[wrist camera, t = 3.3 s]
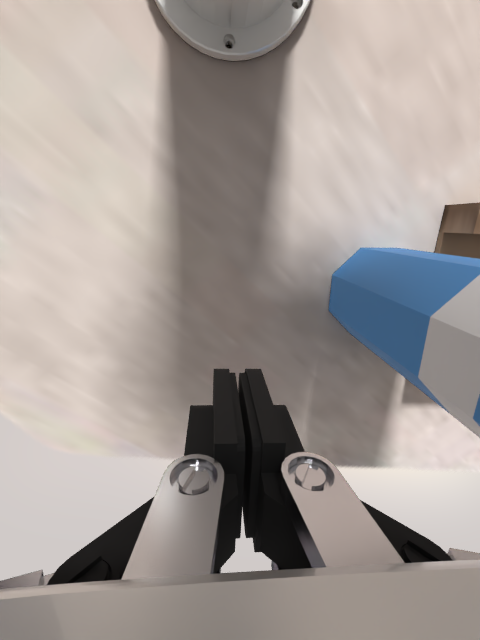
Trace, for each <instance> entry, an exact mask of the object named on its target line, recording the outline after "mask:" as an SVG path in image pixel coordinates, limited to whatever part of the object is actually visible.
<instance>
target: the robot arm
mask: <svg viewBox="0 0 480 640" xmlns="http://www.w3.org/2000/svg"><path fill="white" fill-rule="evenodd" d="M155 2H156V4H157V6H158V8H159V10H160V12H161V14H162V15H163V17H164V18H165V19H166V21H167V22H168V24H169V25H170V26H171V28H172V29H173V30H174V31H175V32H176V33H177V34H178V35H179V36H180V37H181V38H182V39H183V40H184V41H185V42H186V43H188V44H189V45H191V46H192V47H194V48H195V49H197V50H198V51H200V52H201V53H204V54H206V55H209V56H212V57H214V58H217V59H223V60H229V61H239V60H249V59H252V58H255V57H259V56H262V55H264V54H266V53H267V52H269V51H271V50H273V49H274V48H276V47H277V46H278V45H280V44H281V43H282V42H283V41H284V40H285V39H286V38H287V37H288V36H289V35H290V34H291V33H292V31H293V30H294V29H295V27H296V26H297V25H298V24H299V22H300V21H301V19H302V17H303V15H304V13H305V11H306V9H307V7H308V5H309V3H310V0H155ZM293 6H295V7H296V8H297V9H295V8H293ZM228 44H229V45H231V46H232V48H230V49H229V48H226V45H228ZM242 508H243V516H244V526H245V535H246V538H253V543H254V550H255V552H262V553H264V554H265V555H266V556H267V557H269V558H270V559H271V560H272V565H271V566H272V570H271V571H253V572H237V573H220V571H221V567H222V566H223V565H224V563H225V562H226V561H227V560H228V559H229V558H230V556H231V555H232V554H233V553H234V552H235V539H236V538H240V533H241V517H242ZM0 640H480V553H475V552H470V551H464V550H458V549H453V548H450V549H449V552H448V553H446V552H445V551H443V550H442V549H441V548H440V547H439V546H438V545H436V544H435V543H433V542H432V541H430V540H429V539H427V538H425V537H424V536H422V535H420V534H418V533H417V532H415V531H413V530H411V529H410V528H408V527H406V526H404V525H403V524H401V523H399V522H398V521H396V520H394V519H392V518H390V517H389V516H387V515H385V514H384V513H382V512H380V511H378V510H376V509H375V508H373V507H371V506H370V505H368V504H366V503H364V502H363V501H361V500H359V498H358V497H357V495H356V494H355V493H354V491H353V490H352V489H351V487H350V486H349V484H348V483H347V481H346V480H345V479H344V477H343V476H342V474H341V473H340V472H339V470H338V469H337V468H336V467H335V465H334V464H333V463H332V462H330V461H329V460H327V459H326V458H324V457H322V456H320V455H318V454H315V453H310V452H305V451H304V449H303V446H302V444H301V442H300V439H299V437H298V434H297V432H296V429H295V427H294V425H293V422H292V420H291V417H290V415H289V412H288V410H287V408H286V406H285V405H273V403H272V400H271V397H270V394H269V391H268V389H267V386H266V383H265V380H264V377H263V374H262V371H261V369H245V373H239V387H238V389H237V382H236V376H235V373H230V372H229V369H214V382H213V405H202V406H190V414H189V422H188V429H187V437H186V445H185V453H184V456H182V457H180V458H178V459H176V460H174V461H173V462H172V463H171V464H170V465H169V466H168V467H167V469H166V470H165V472H164V474H163V477H162V479H161V481H160V484H159V487H158V489H157V491H156V494H155V496H154V497H153V498H152V499H150V500H149V501H148V502H146V503H145V504H143V505H142V506H141V507H139V508H138V509H136V510H135V511H134V512H132V513H131V514H130V515H128V516H127V517H125V518H124V519H123V520H121V521H120V522H118V523H117V524H116V525H114V526H113V527H112V528H110V529H109V530H107V531H106V532H105V533H103V534H102V535H101V536H99V537H98V538H96V539H95V540H94V541H92V542H91V543H89V544H88V545H87V546H85V547H84V548H83V549H81V550H80V551H79V552H77V553H76V554H74V555H73V556H71V557H70V558H69V559H68V560H67V561H66V562H64V563H63V564H62V565H61V566H60V567H59V568H58V569H57V571H56V572H55V573H52V574H48V575H45V576H43V570H39V571H36V572H32V573H28V574H24V575H21V576H17V577H13V578H10V579H6V580H2V581H0Z"/></svg>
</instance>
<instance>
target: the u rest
mask: <svg viewBox="0 0 480 640" xmlns="http://www.w3.org/2000/svg"><path fill="white" fill-rule="evenodd" d="M434 253H439V254H447V255H454V256H462V257H470V258H477V259H480V203H469V204H457V205H445V209H444V213H443V218H442V222H441V226H440V231H439V235H438V239H437V244H436V248H435V252H434Z"/></svg>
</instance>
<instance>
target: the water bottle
mask: <svg viewBox="0 0 480 640" xmlns="http://www.w3.org/2000/svg"><path fill="white" fill-rule="evenodd" d="M329 311H330V312H331V313H332V315H333V316H334V317H335V318H336V319H337V320H338V321H339V322H340V323H341V324H342V325H343V326H344V328H345V329H346V330H347V331H348V332H349V333H350V334H351V335H352V336H354V337H355V338H356V339H357V340H359V341H360V342H361V343H362V344H364V345H365V346H366V347H367V348H369V349H370V350H371V351H372V352H374V353H375V354H376V355H377V356H379V357H380V358H381V359H382V360H384V361H385V362H386V363H387V364H389V365H390V366H391V367H392V368H394V369H395V370H396V371H397V372H399V373H400V374H401V375H402V376H404V377H405V378H406V379H407V380H409V381H410V382H411V383H412V384H414V385H415V386H416V387H417V388H419V389H420V390H421V391H422V392H424V393H425V394H426V395H427V396H428V397H430V398H431V399H432V400H433V401H435V402H436V403H437V404H438V405H440V406H441V407H442V408H443V409H445V410H446V411H447V412H448V413H450V414H451V415H452V416H453V417H455V418H456V419H457V420H458V421H460V422H461V423H462V424H463V425H465V426H466V427H467V428H468V429H470V430H471V431H472V432H473V433H475V434H476V435H477V436H478V437H480V259H477V258H470V257H462V256H454V255H447V254H439V253H432V252H424V251H416V250H409V249H401V248H360V249H359V250H358V251H357V252H356V253H355V254H354V255H353V256H352V257H351V258H349V259H348V260H347V261H346V262H345V263H344V264H343V265H342V266H341V267H340V268H339V269H338V270H337V271H336V272H335V273H333V274H332V282H331V292H330V302H329Z"/></svg>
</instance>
